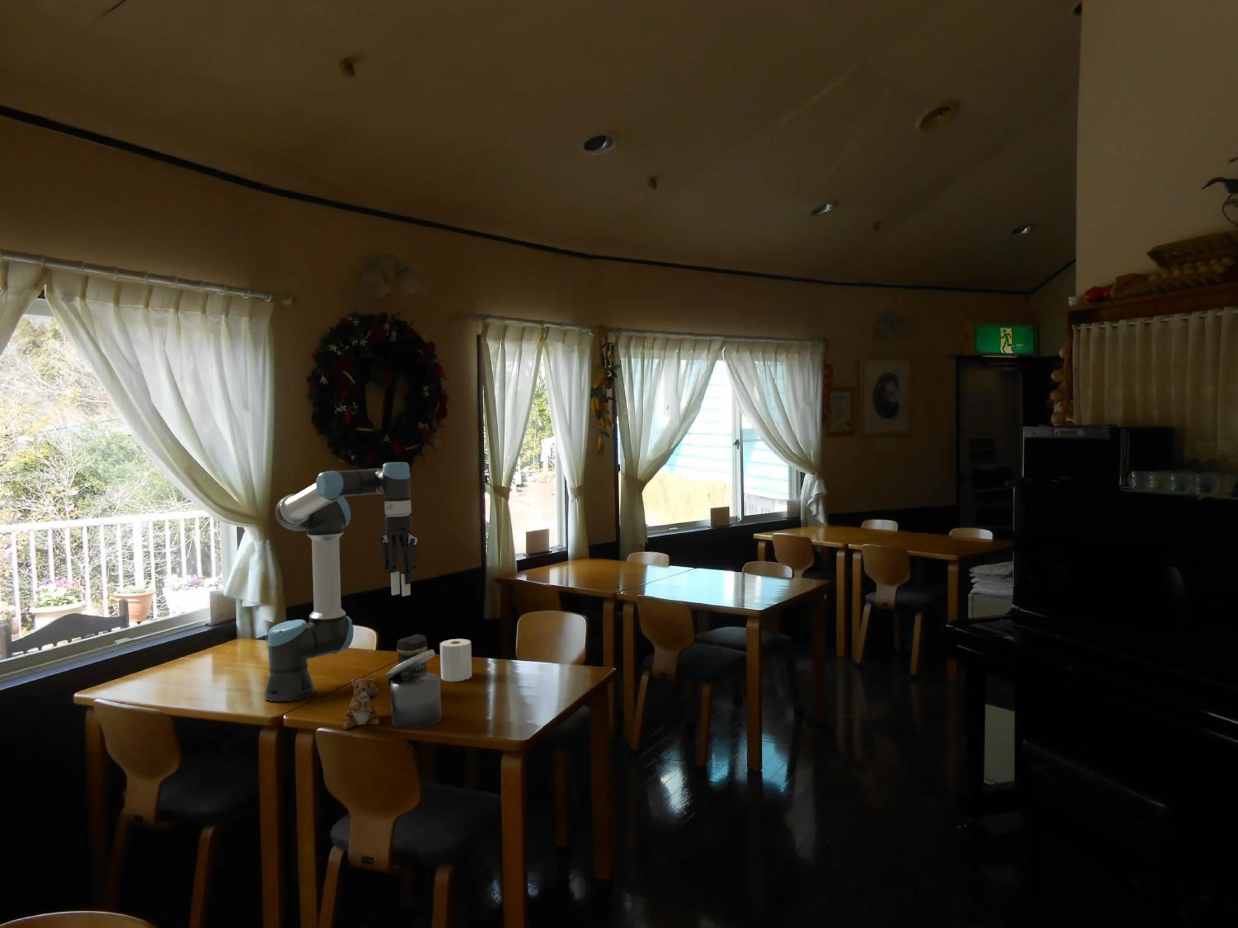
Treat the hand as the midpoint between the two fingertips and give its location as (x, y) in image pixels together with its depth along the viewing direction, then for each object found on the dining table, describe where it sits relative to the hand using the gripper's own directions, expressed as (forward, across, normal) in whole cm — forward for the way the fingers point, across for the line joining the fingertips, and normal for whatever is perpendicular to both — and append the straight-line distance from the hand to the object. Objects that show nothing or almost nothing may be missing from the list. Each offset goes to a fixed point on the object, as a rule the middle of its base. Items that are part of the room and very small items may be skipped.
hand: (401, 594), depth 238 cm
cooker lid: (+21, +3, 0) cm, 21 cm away
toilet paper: (+37, -12, +38) cm, 54 cm away
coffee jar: (+37, -14, +19) cm, 44 cm away
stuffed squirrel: (+37, -10, -7) cm, 39 cm away
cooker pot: (+37, +4, 0) cm, 37 cm away
